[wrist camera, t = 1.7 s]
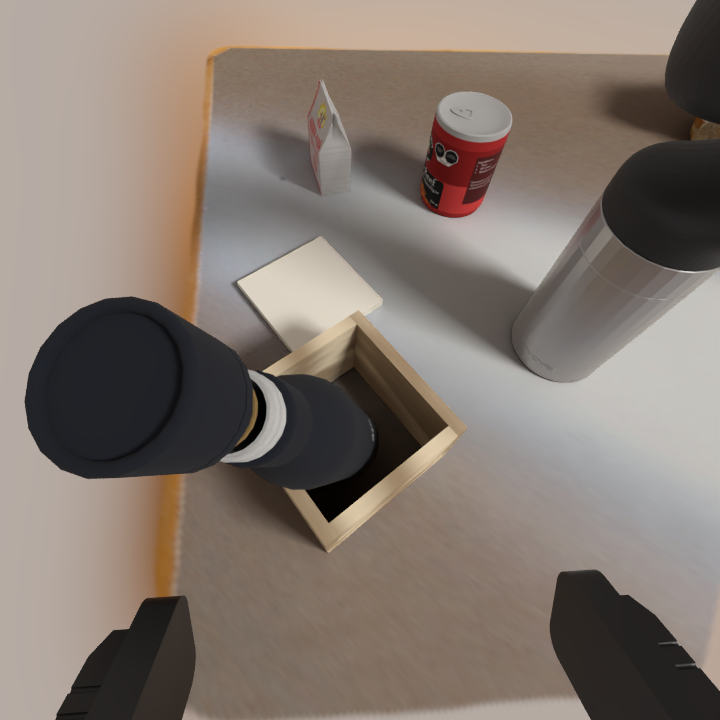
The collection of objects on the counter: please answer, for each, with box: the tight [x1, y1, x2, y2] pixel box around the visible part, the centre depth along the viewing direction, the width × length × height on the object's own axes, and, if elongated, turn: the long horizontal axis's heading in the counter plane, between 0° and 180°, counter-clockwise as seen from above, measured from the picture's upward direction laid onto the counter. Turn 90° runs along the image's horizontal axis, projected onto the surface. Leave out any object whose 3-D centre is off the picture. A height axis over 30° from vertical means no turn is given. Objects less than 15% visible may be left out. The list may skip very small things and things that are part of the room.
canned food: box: [420, 92, 512, 217], centre depth 49 cm, size 8×8×11 cm
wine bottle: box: [25, 297, 378, 490], centre depth 23 cm, size 6×6×30 cm
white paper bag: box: [308, 79, 351, 196], centre depth 50 cm, size 4×7×10 cm, turn 15°
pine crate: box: [262, 310, 467, 553], centre depth 35 cm, size 13×13×8 cm
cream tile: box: [237, 236, 383, 353], centre depth 45 cm, size 11×11×1 cm
